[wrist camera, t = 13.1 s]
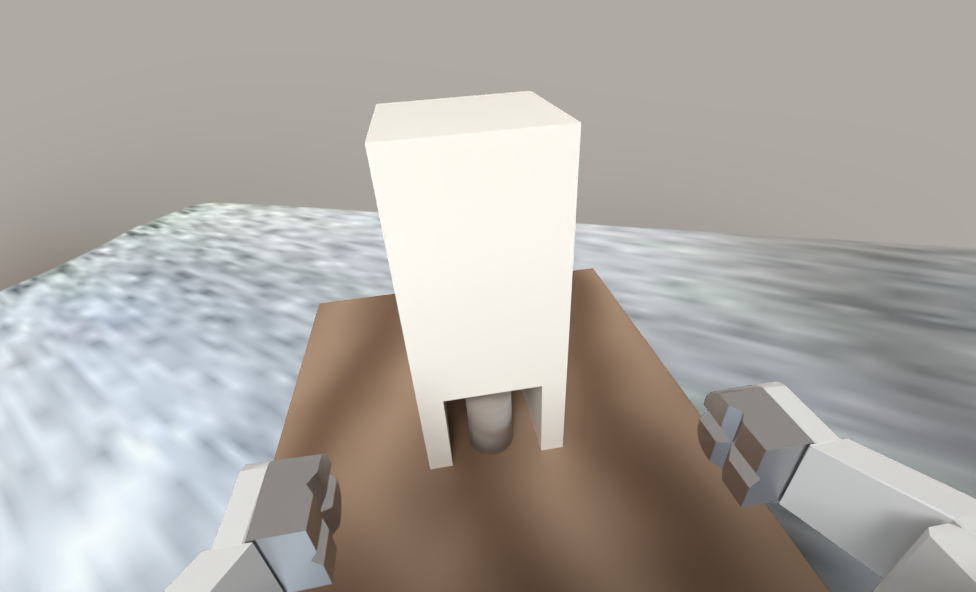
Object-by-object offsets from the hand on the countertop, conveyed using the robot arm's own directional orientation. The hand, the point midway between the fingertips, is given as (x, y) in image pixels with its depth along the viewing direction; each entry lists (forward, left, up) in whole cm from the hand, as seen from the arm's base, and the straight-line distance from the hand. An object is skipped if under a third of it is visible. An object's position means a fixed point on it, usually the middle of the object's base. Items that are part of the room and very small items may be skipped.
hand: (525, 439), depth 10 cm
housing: (0, -10, -9) cm, 13 cm away
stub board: (0, -10, -11) cm, 14 cm away
